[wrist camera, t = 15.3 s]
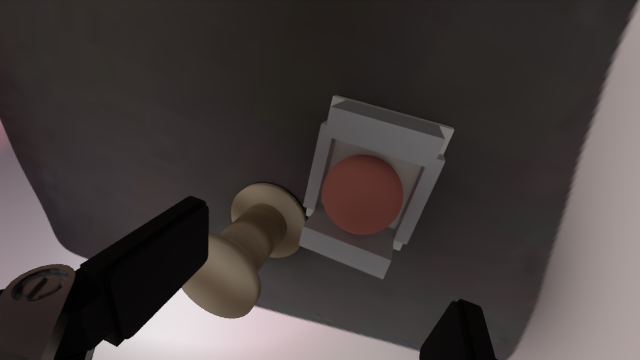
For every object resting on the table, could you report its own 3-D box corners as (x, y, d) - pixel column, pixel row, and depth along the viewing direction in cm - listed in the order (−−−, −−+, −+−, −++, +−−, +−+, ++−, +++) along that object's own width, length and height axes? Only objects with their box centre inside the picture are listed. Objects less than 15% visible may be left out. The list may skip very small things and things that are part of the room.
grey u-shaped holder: (336, 94, 20) (314, 101, 16) (452, 127, 18) (464, 144, 14) (309, 210, 25) (286, 240, 20) (400, 244, 23) (396, 284, 19)
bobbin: (238, 171, 26) (163, 215, 18) (315, 199, 24) (268, 260, 16) (233, 236, 29) (168, 296, 21) (299, 264, 28) (255, 339, 20)
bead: (343, 136, 20) (320, 157, 15) (416, 158, 19) (416, 189, 14) (327, 197, 23) (303, 232, 18) (390, 220, 21) (383, 264, 17)
